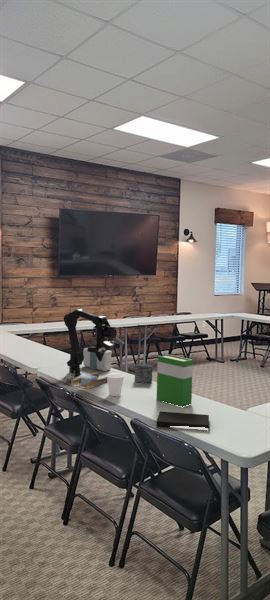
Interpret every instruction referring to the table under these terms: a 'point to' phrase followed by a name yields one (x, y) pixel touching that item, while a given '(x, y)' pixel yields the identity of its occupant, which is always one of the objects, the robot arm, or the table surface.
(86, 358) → the stereo radio cassette player
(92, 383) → the rack bay
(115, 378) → the cup
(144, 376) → the small box
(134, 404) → the table surface
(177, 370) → the green cereal box
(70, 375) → the winch drum
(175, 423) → the black book
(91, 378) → the crate
